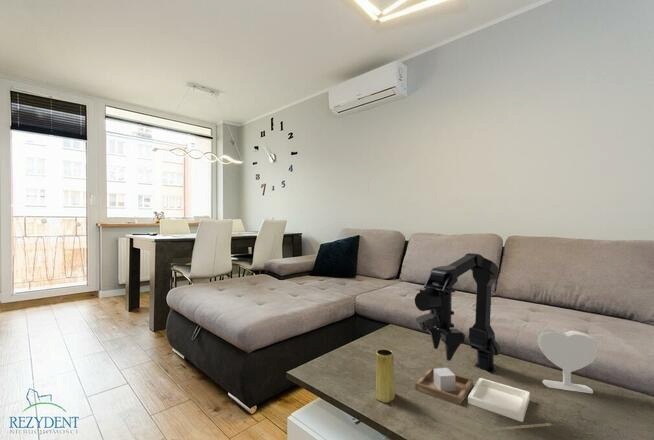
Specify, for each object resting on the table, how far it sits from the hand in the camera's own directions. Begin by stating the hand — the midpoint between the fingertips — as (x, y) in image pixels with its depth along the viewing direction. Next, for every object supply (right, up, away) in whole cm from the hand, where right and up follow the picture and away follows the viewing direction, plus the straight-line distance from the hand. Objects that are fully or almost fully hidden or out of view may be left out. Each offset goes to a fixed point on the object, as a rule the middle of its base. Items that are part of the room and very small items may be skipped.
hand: (442, 354), depth 101 cm
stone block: (+1, -11, 0) cm, 11 cm away
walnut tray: (+1, -11, 0) cm, 11 cm away
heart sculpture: (+41, -11, 0) cm, 43 cm away
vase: (-19, -12, -4) cm, 23 cm away
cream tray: (+14, -11, -8) cm, 20 cm away
